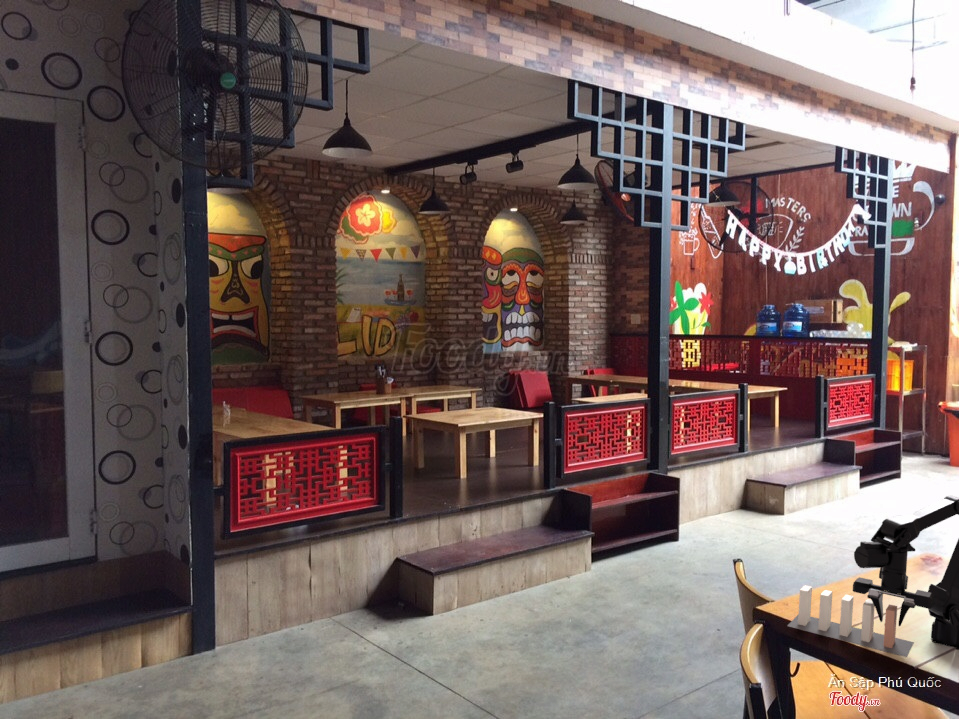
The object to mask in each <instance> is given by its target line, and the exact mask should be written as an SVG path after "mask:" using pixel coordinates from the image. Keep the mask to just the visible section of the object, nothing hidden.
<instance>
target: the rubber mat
mask: <svg viewBox="0 0 959 719" xmlns="http://www.w3.org/2000/svg"><path fill="white" fill-rule="evenodd" d="M798 615H799V613H798V614H797V615H796V616H795V617H794V618H793V619H792V621H790V622H789V623H788V624H787V627H789V628H794V629H796V630H800V631H804V632H808V633H813V634H815V635H820V636H823V637H827V638H831V639H835V640H839V641H843V642H846V643H850V644H854V645H857V646H858V645H859V646H862V647H865V648H870V649H873V650H877V651H882V652H884V653H888V654H892V655H896V656H900V657H905V658H907V657H908V655H909V654H910V651H911V650H912V647H913V645H914V643H915V642H914V641H910V640H905V639H902V638H898V637H895V643H894V645H893V647H892V648H889V647H885V646H884V633H878V632H874V631H873V637H872V639H871V640H870V642H866V641H862V640H861V634H862V628H858V627H854V626H852V629H851V632H850V634H849V635H848V636H847V637H846V636H842V635H839V634H840V622H834V621H831V625H830V627H829V628H828V629H827V631H823V630H819V629H818V628H819V617H815V616H811V615H810V621H809V622H808V624H807V625H806V626H803V625H799V624H798Z"/></svg>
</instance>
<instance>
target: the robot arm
mask: <svg viewBox="0 0 959 719" xmlns="http://www.w3.org/2000/svg"><path fill="white" fill-rule="evenodd" d="M956 515H957V516H959V497H957V496H953V495H948V496H947V495H946V496H945V497H944V498H943V499H940V500H938V501H936V502H934V503H932V504H930V505H928V506H926V507H923V508H922V509H920V510H917V511H914V512H913V513H909V514H906V515H895V516H891V517H887V518H885V519H884V520H883V521H882V522H881V525H880V527H879V528H878V530H876V532H875V533H874V535H872V537H871V539H870V541H871V542H870V541H860V543H859V545H858V546H857V547H856V548H855V551H854V552H853V555H854V556H853V558H854V561H855V563H856V565H857V566H858V567H859V569H876V568H877V569H878V568H880V570H879V573H878V574H879V575H878V579H880V582H881V583H880V585H878V584H874V581H873V579H869V578H865V577H860V576H859V577H858V578H855V580H854V581H853V584H852V592H853V593H857V594H861V595H866V594H867V593H868V594H867V598H868V599H869V600H872V602H873V604H874V606H875V608H874V609H875V610H876V614H877V615H878V618H879V622H880V623H882V622H883V620H884V606H883V600H884V595H887V596H892V597H897V598H901V599H903V601H902V603H901V607H900V612H899V618H898V627H901V626H902V623H903V622H904V619H905V617H906V615H907V613H908V611H909V610H910V609H915V608H916V607H920V608H924V609H928V612H929V616H930V617H933V618H934V621H933V622H932V624H931V630H930V632H931V633H930V639H931V640H932V641H931V642H932V643H935V644H938V645H942V646H947V647H950V648H951V647H952V648H954V649H956V650H957V651H958V650H959V538H957V542H956V544H955V546H954V549H953V552H952V554H951V556H950V560H949V562H948V563H947V566H946V570H945V571H944V574H943V576H942V579H941V580H940V581H939V582H938V583H937V584H933V583H930V585H929V586H928V590H927V591H925V590H922V589H921V590H920V589H917V590H916V591H915V592H910V591H907V590H908V582H909V576H908V575H907V569H908V567H907V566H908V554H909V552H916V548H915V547H914V546H912V544H911V542H913V541H915V540H916V539H917V538H918V537H919V535H920V533H921V532H923V531H924V530H926V529H928V528H930V527H932V526H935V525H937V524H939V523H941V522H943V521H945V520H947V519H950V518H952V517H955V516H956ZM891 541H892V542H891Z"/></svg>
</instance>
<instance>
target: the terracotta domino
mask: <svg viewBox="0 0 959 719" xmlns="http://www.w3.org/2000/svg"><path fill="white" fill-rule="evenodd" d="M897 617H898V605H893V604H890V603H889V604H888V606H887V607H886V608H885V619H884V633H883V635H884V646H885V647H889V648H892V647H893V645H894V643H895V638H896V633H897Z"/></svg>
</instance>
